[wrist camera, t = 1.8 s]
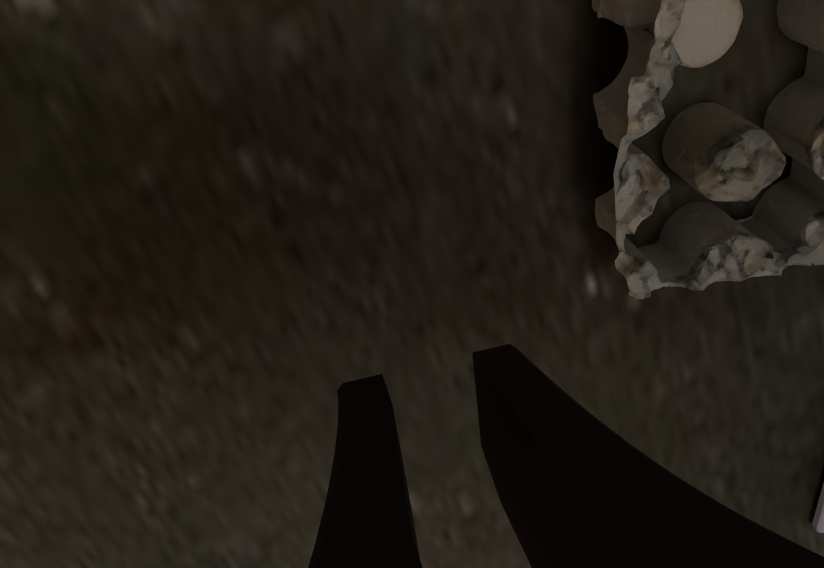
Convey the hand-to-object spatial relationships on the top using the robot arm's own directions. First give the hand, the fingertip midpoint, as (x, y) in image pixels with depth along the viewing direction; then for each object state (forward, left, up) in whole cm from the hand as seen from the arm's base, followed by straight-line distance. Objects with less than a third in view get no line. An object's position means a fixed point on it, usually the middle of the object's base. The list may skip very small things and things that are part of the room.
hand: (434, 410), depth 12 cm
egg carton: (0, -11, -11) cm, 15 cm away
